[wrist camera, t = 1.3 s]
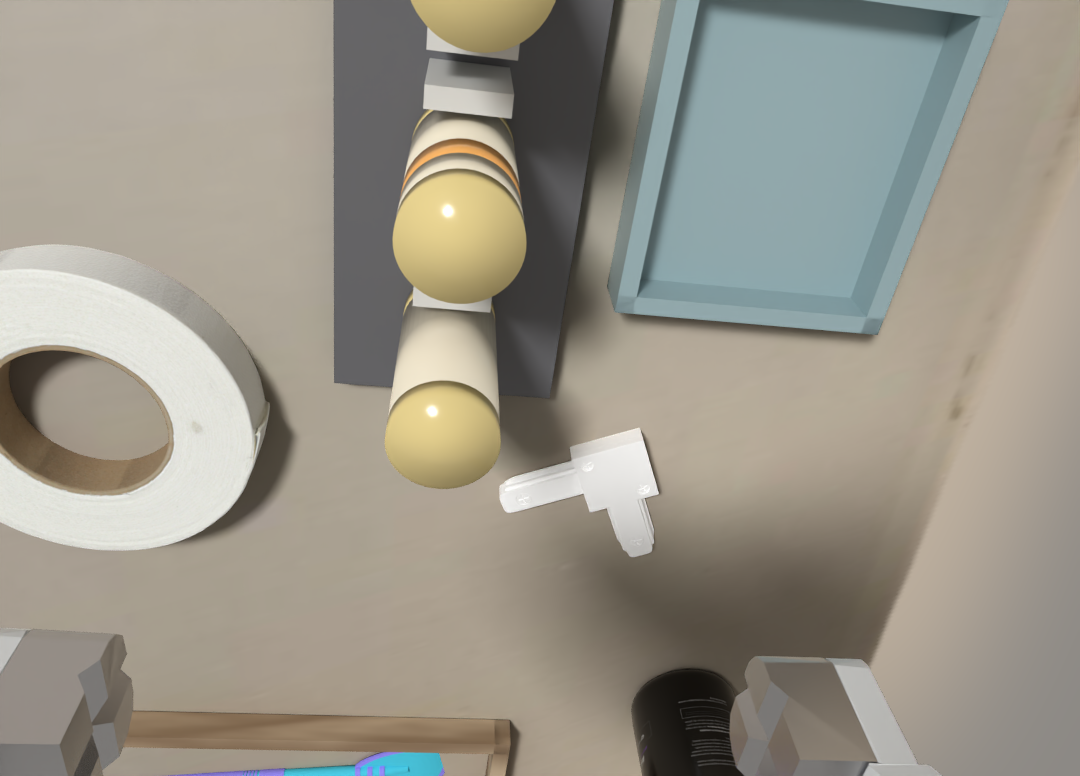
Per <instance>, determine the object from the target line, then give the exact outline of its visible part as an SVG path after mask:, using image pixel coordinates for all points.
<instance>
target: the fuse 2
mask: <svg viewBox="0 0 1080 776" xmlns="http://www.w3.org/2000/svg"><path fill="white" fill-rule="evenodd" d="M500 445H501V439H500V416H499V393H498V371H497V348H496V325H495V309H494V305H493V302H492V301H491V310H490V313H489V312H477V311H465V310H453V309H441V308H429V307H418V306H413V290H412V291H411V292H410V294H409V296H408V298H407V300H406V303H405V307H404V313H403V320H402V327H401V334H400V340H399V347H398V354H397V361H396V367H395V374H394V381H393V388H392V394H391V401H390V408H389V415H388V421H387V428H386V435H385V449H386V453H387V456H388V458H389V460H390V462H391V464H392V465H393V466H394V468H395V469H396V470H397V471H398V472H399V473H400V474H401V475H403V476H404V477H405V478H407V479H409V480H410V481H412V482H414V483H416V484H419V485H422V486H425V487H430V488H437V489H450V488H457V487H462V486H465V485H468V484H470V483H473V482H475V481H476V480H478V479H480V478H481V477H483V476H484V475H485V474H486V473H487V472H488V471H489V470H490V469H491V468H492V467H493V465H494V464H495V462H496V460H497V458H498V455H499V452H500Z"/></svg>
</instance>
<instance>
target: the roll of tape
mask: <svg viewBox="0 0 1080 776" xmlns="http://www.w3.org/2000/svg"><path fill="white" fill-rule="evenodd" d="M48 350H59V351H71V352H76V353H81V354H85V355H89V356H92V357H95V358H98V359H101V360H104V361H106V362H108V363H110V364H112V365H114V366H116V367H118V368H120V369H121V370H123V371H124V372H126V373H127V374H129V375H130V376H132V377H133V378H134V379H135V380H137V381H138V382H139V383H140V384H141V385H142V386H143V387H145V388H146V390H147V391H148V392H149V393H150V394H151V395H152V397H153V398H154V399H155V400H156V402H157V403H158V405H159V407H160V408H161V410H162V413H163V415H164V417H165V420H166V424H167V428H168V437H169V443H168V444H166V445H165V446H164V447H162V448H161V449H159V450H157V451H156V452H154V453H152V454H149V455H147V456H144V457H141V458H137V459H131V460H102V459H95V458H91V457H87V456H83V455H80V454H77V453H74V452H72V451H69V450H67V449H65V448H63V447H61V446H59V445H57V444H56V443H54V442H52V441H51V440H49V439H48V438H46V437H45V436H44V435H42V434H41V433H40V432H39V431H38V430H36V429H35V428H34V427H33V426H32V425H31V424H30V423H29V422H28V420H27V419H26V418H25V417H24V415H23V414H22V413H21V411H20V410H19V408H18V406H17V405H16V403H15V400H14V398H13V395H12V392H11V389H10V382H9V369H10V364H11V361H12V360H13V359H15V358H17V357H19V356H22V355H25V354H28V353H32V352H39V351H48ZM269 411H270V404H269V402H267V401H266V400H265V397H264V392H263V387H262V383H261V379H260V376H259V373H258V371H257V368H256V366H255V364H254V362H253V360H252V358H251V356H250V354H249V352H248V350H247V348H246V347H245V345H244V344H243V342H242V340H241V339H240V338H239V337H238V335H237V334H236V333H235V331H234V330H233V329H232V328H231V326H230V325H229V324H228V323H227V322H226V321H225V320H224V319H223V317H222V316H221V315H220V314H219V313H218V312H216V311H215V310H214V309H213V308H212V307H211V306H210V305H209V304H208V303H207V302H205V301H204V300H203V299H202V298H201V297H199V296H198V295H197V294H195V293H194V292H193V291H191V290H190V289H189V288H187V287H186V286H184V285H182V284H181V283H179V282H178V281H176V280H175V279H173V278H171V277H170V276H168V275H166V274H164V273H162V272H160V271H158V270H156V269H154V268H152V267H150V266H147V265H145V264H143V263H140V262H138V261H135V260H133V259H130V258H128V257H125V256H122V255H118V254H115V253H111V252H107V251H103V250H98V249H94V248H87V247H81V246H73V245H54V244H50V245H35V246H27V247H20V248H14V249H9V250H5V251H1V252H0V522H1V523H3V524H6V525H8V526H10V527H12V528H15V529H17V530H19V531H21V532H24V533H26V534H29V535H32V536H35V537H38V538H41V539H44V540H48V541H51V542H55V543H59V544H63V545H68V546H74V547H79V548H86V549H95V550H117V551H120V550H141V549H149V548H156V547H161V546H165V545H169V544H173V543H176V542H179V541H181V540H184V539H186V538H189V537H191V536H193V535H195V534H197V533H199V532H201V531H203V530H204V529H206V528H207V527H209V526H210V525H211V524H213V523H214V522H216V521H217V520H218V519H219V518H220V517H222V516H223V515H225V514H226V513H227V512H228V510H229V509H230V508H231V507H232V506H233V505H234V503H235V502H236V501H237V500H238V499H239V497H240V495H241V494H242V492H243V491H244V489H245V487H246V485H247V482H248V480H249V477H250V475H251V472H252V470H253V468H254V465H255V462H256V459H257V456H258V454H259V451H260V448H261V445H262V442H263V439H264V436H265V432H266V427H267V423H268V418H269Z"/></svg>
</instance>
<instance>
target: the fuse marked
mask: <svg viewBox="0 0 1080 776" xmlns="http://www.w3.org/2000/svg"><path fill="white" fill-rule="evenodd" d="M526 243H527V242H526V232H525V224H524V217H523V209H522V201H521V194H520V186H519V179H518V171H517V163H516V156H515V148H514V140H513V136H512V132H511V129H510V127H509V125H508V123H507V121H506V119H505V118H501V117H492V116H483V115H474V114H466V113H457V112H448V111H439V110H430V109H427V110H426V111H425V112H424V113H423V114H422V115H421V117H420V118H419V120H418V122H417V124H416V126H415V129H414V133H413V137H412V142H411V147H410V152H409V156H408V161H407V166H406V171H405V176H404V181H403V186H402V191H401V196H400V201H399V206H398V210H397V215H396V220H395V225H394V230H393V250H394V255H395V258H396V261H397V264H398V266H399V268H400V270H401V271H402V273H403V274H404V276H405V277H406V278H407V280H408V281H409V282H410V283H411V284H412V285H413V286H414V287H415V288H417V289H418V290H419V291H421V292H422V293H424V294H426V295H427V296H429V297H431V298H434V299H436V300H439V301H443V302H447V303H454V304H468V303H475V302H480V301H483V300H486V299H488V298H490V297H492V296H495V295H496V294H498V293H499V292H501V291H502V290H504V289H505V288H506V287H507V286H508V285H509V284H510V283H511V282H512V281H513V280H514V278H515V277H516V276H517V274H518V272H519V271H520V269H521V267H522V264H523V261H524V258H525V253H526Z"/></svg>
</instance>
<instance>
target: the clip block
mask: <svg viewBox="0 0 1080 776" xmlns="http://www.w3.org/2000/svg"><path fill="white" fill-rule="evenodd" d="M613 3H614V0H556V1H555V4H554V6H553V8H552V10H551V12H550V14H549V15H548V17H547V19H546V20H545V21H544V23H543V24H542V25H541V26H540V28H539V29H538V30H537V31H536V32H535V33H534V34H533V35H532V36H530V37H529V38H527V39H526V40H525V41H523V42H522V43H520V44H518V45H516V46H514V47H511V48H509V49H506V50H502V51H498V52H490V53H478V52H471V51H466V50H463V49H460V48H457V47H455V46H453V45H451V44H449V43H447V42H445V41H444V40H442V39H441V38H439V37H438V36H437V35H436V34H435V33H433V32H432V31H431V30H430V29H429V28H428V27H427V25H426V24H425V23H424V22H423V21H422V19H421V18H420V17H419V15H418V14H417V12H416V10H415V8H414V6H413V5H412V2H411V0H334V383H343V384H357V385H371V386H385V387H393V381H394V374H395V367H396V361H397V354H398V347H399V340H400V334H401V327H402V320H403V313H404V307H405V303H406V300H407V298H408V296H409V294H410V292H411V291H412V290H413V306H418V307H429V308H441V309H453V310H465V311H477V312H489V313H490V310H491V301H492V302H493V305H494V309H495V325H496V348H497V371H498V393H499V395H510V396H524V397H538V398H550V392H551V385H552V379H553V373H554V367H555V361H556V355H557V348H558V342H559V336H560V330H561V324H562V318H563V311H564V305H565V299H566V293H567V287H568V281H569V274H570V268H571V262H572V256H573V250H574V244H575V237H576V231H577V225H578V219H579V213H580V206H581V200H582V194H583V188H584V182H585V176H586V169H587V163H588V157H589V151H590V145H591V139H592V132H593V126H594V120H595V114H596V108H597V102H598V95H599V89H600V83H601V77H602V71H603V65H604V58H605V52H606V46H607V40H608V34H609V28H610V21H611V15H612V9H613ZM427 109H430V110H439V111H448V112H457V113H466V114H474V115H483V116H492V117H501V118H505V119H506V121H507V123H508V125H509V127H510V129H511V132H512V136H513V140H514V148H515V156H516V163H517V171H518V179H519V186H520V194H521V201H522V209H523V217H524V224H525V232H526V242H527V243H526V253H525V258H524V261H523V264H522V267H521V269H520V271H519V272H518V274H517V276H516V277H515V278H514V280H513V281H512V282H511V283H510V284H509V285H508V286H507V287H506V288H505V289H504V290H502V291H501V292H499V293H498V294H496V295H495V296H492V297H490V298H488V299H486V300H483V301H480V302H475V303H468V304H454V303H447V302H443V301H439V300H436V299H434V298H431V297H429V296H427V295H426V294H424V293H422V292H421V291H419V290H418V289H417V288H415V287H414V286H413V285H412V284H411V283H410V282H409V281H408V280H407V278H406V277H405V276H404V274H403V273H402V271H401V270H400V268H399V266H398V264H397V261H396V258H395V255H394V250H393V230H394V225H395V220H396V215H397V210H398V206H399V201H400V196H401V191H402V186H403V181H404V176H405V171H406V166H407V161H408V156H409V152H410V147H411V142H412V137H413V133H414V129H415V126H416V124H417V122H418V120H419V118H420V117H421V115H422V114H423V113H424V112H425V111H426V110H427Z"/></svg>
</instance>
